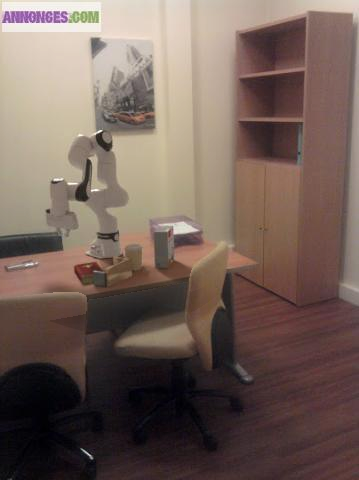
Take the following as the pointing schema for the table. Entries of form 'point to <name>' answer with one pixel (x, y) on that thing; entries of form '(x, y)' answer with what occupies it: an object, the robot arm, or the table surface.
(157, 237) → the hard drive box
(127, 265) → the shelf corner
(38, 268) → the table surface
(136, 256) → the coffee cup
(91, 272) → the hardcover book
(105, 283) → the bookend
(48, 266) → the table surface
